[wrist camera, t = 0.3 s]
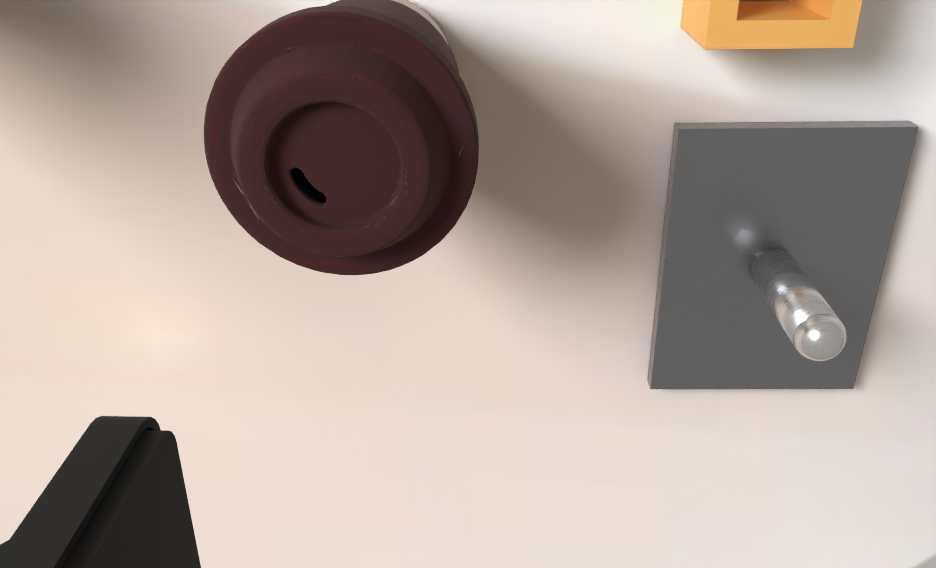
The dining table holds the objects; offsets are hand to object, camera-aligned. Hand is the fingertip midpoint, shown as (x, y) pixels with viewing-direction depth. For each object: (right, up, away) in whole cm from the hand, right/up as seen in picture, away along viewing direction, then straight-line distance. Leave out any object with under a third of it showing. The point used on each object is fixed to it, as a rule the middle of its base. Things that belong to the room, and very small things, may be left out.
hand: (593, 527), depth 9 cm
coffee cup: (-6, +14, +32) cm, 36 cm away
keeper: (+15, +4, +37) cm, 40 cm away
